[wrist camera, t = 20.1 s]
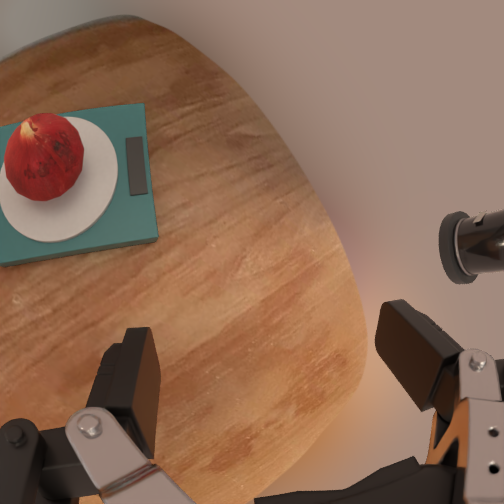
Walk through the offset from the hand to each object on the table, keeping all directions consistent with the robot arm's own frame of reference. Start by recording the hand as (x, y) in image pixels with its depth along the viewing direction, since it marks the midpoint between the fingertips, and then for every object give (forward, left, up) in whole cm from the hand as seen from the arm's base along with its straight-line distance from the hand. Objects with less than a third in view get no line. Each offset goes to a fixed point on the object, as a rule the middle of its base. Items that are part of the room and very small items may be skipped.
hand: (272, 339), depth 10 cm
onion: (+9, -12, -14) cm, 21 cm away
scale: (+9, -12, -17) cm, 23 cm away
